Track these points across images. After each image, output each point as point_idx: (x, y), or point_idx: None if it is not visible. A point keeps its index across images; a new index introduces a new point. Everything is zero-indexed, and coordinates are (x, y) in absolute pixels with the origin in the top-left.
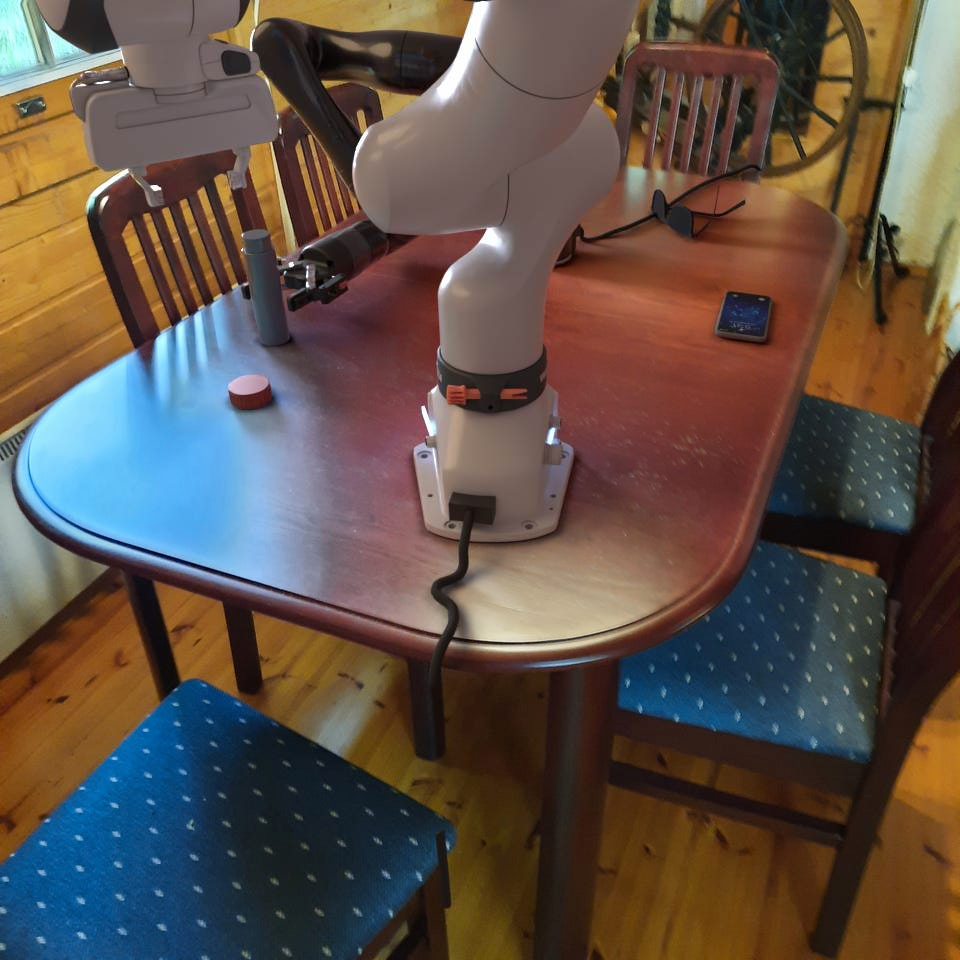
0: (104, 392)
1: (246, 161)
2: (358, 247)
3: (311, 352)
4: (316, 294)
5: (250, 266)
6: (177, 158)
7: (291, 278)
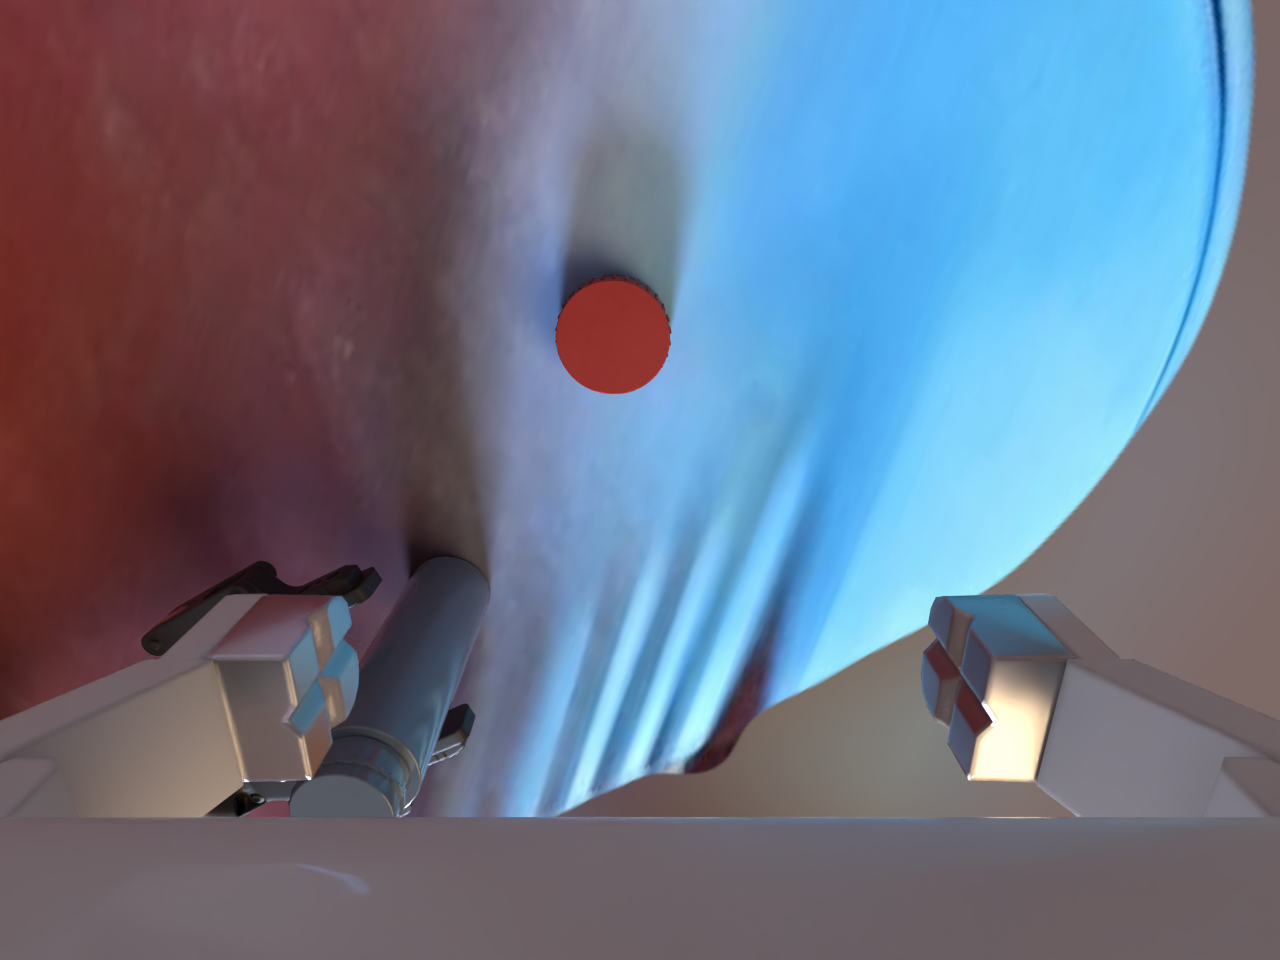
0: (898, 576)
1: (37, 720)
2: None
3: (387, 472)
4: (273, 593)
5: (422, 717)
6: (890, 821)
7: None
